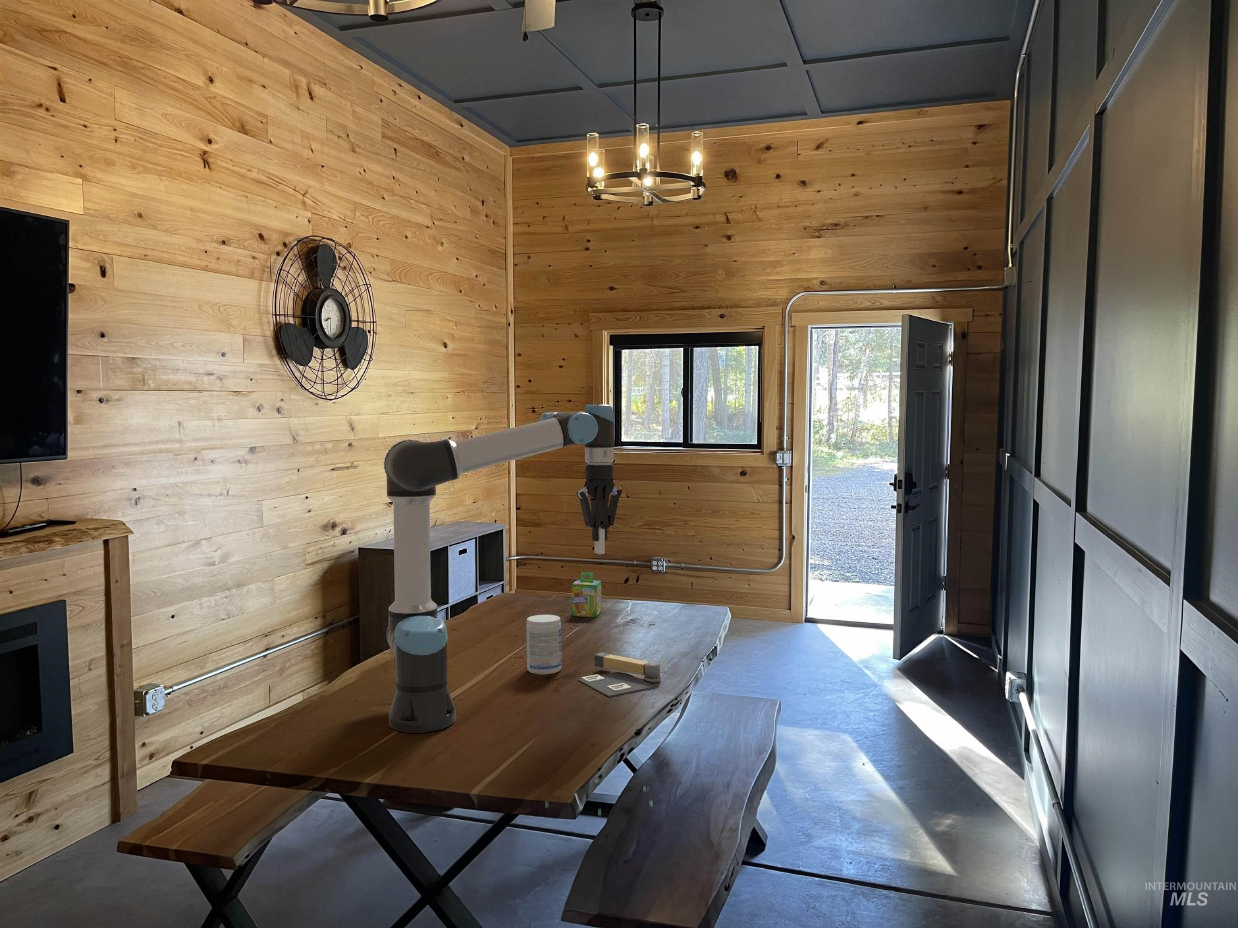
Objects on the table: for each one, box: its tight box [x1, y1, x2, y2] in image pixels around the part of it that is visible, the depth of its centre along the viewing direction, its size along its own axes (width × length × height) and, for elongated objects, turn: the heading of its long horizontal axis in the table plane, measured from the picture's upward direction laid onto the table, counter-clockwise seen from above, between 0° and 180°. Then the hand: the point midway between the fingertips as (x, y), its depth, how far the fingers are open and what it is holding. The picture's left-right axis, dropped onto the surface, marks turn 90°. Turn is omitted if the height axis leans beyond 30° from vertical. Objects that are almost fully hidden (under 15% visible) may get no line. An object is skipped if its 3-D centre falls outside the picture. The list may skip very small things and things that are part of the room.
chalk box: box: [571, 571, 602, 618], centre depth 308 cm, size 9×9×15 cm
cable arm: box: [593, 651, 661, 678], centre depth 236 cm, size 20×4×3 cm, turn 55°
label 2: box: [607, 683, 632, 691], centre depth 225 cm, size 5×4×1 cm
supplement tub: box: [525, 614, 563, 676], centre depth 241 cm, size 10×10×15 cm
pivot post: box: [643, 675, 662, 685], centre depth 231 cm, size 4×4×1 cm
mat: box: [577, 671, 656, 698], centre depth 229 cm, size 14×16×1 cm
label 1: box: [580, 674, 605, 682], centre depth 232 cm, size 5×4×1 cm
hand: (599, 553), depth 229 cm, fingers closed
